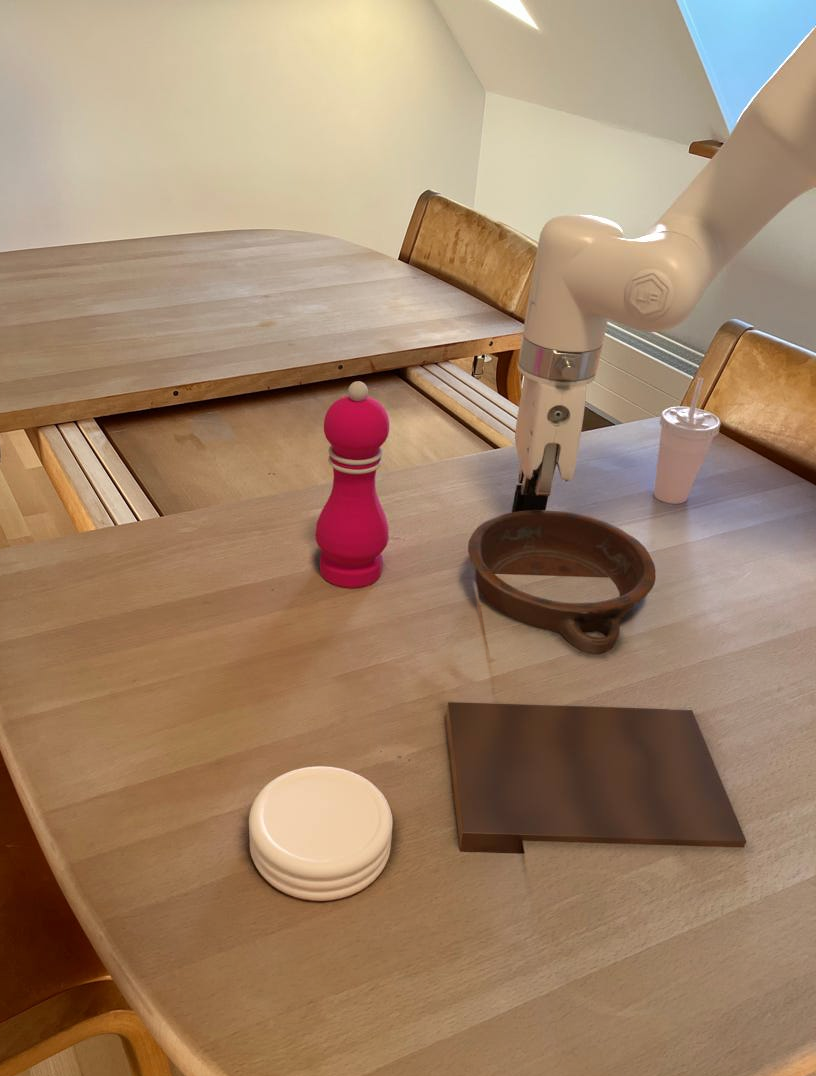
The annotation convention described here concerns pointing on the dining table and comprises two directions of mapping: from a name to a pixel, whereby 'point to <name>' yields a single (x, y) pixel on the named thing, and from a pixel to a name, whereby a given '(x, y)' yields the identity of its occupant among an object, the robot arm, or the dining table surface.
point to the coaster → (320, 833)
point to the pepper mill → (353, 491)
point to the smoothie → (683, 448)
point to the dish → (561, 570)
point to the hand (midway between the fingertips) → (526, 521)
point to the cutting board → (584, 777)
